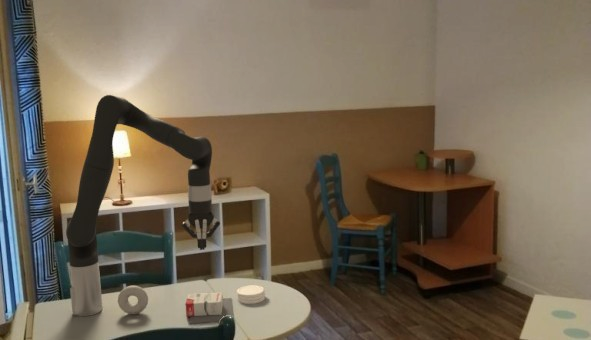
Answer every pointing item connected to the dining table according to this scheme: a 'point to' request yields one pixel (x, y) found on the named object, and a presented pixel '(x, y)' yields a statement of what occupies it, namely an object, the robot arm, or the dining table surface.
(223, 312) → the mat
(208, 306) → the ink box
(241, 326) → the dining table surface
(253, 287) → the white round lidded container
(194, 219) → the robot arm
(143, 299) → the donut
